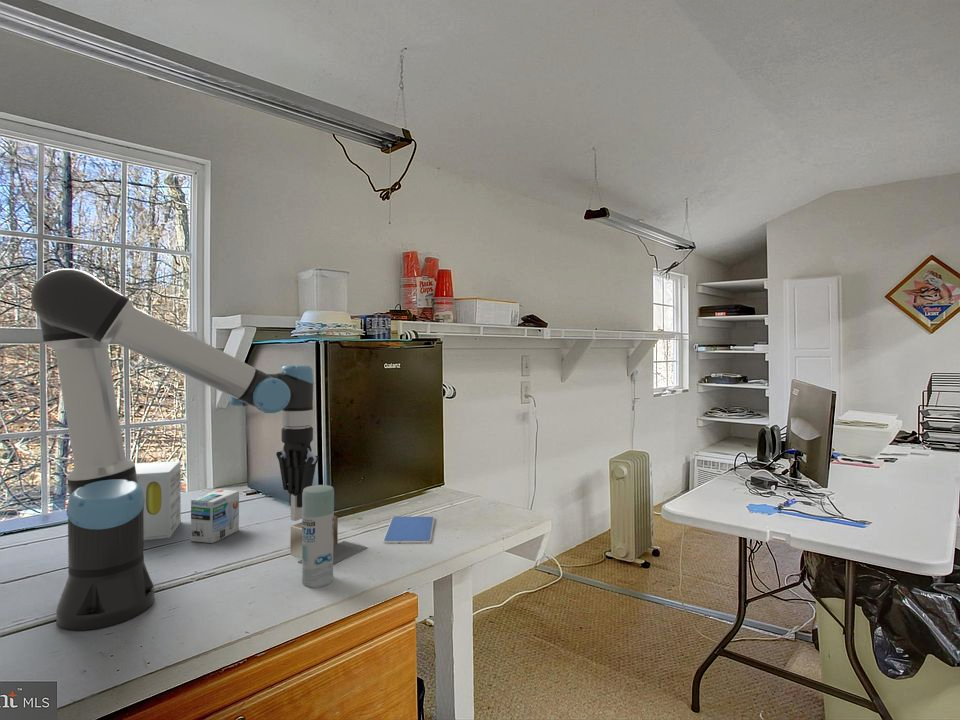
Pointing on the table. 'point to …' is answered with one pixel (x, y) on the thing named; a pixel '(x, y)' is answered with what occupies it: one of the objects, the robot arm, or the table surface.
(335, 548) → the mat
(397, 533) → the tablet computer
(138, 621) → the table surface
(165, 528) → the supplement box
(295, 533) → the walnut block
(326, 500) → the spray paint can
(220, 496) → the light bulb box
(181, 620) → the table surface
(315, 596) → the table surface
